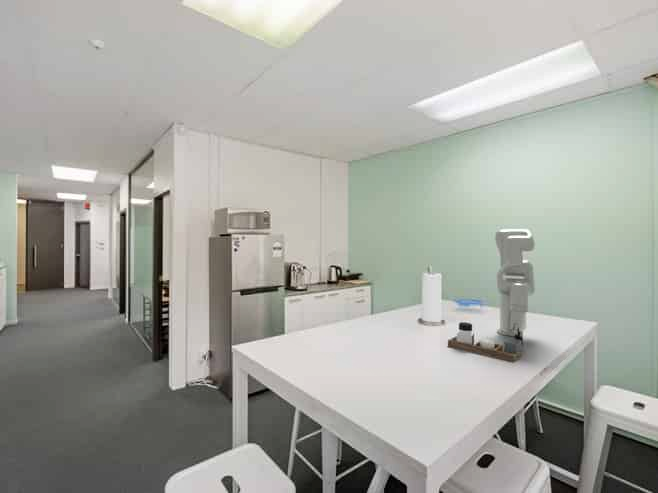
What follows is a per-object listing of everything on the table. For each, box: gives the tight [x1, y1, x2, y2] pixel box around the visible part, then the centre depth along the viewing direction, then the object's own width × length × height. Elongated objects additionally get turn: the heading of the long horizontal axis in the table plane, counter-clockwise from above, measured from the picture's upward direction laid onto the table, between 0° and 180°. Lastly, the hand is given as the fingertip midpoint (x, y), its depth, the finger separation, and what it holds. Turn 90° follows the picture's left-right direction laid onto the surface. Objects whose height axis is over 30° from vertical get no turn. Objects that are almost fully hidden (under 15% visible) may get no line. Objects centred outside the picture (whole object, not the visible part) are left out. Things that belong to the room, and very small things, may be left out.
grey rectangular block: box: [503, 337, 523, 355], centre depth 150 cm, size 9×5×5 cm, turn 135°
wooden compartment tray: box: [447, 335, 522, 363], centre depth 151 cm, size 11×30×3 cm, turn 45°
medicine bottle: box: [456, 321, 475, 345], centre depth 157 cm, size 7×7×12 cm
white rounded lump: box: [479, 339, 496, 350], centre depth 150 cm, size 6×6×5 cm
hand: (518, 344), depth 157 cm, fingers closed
